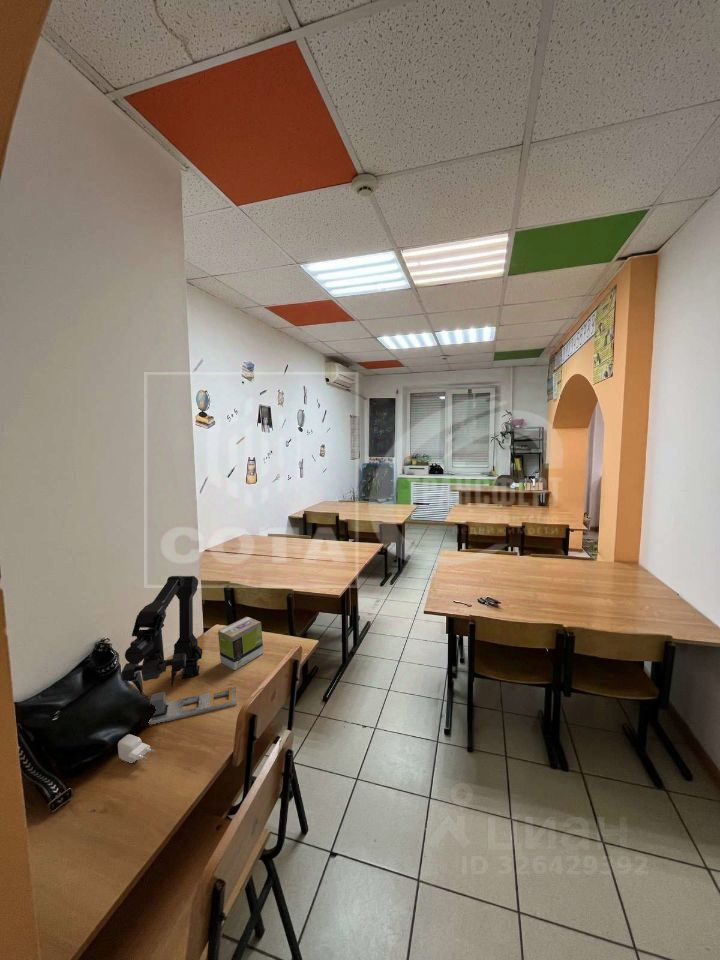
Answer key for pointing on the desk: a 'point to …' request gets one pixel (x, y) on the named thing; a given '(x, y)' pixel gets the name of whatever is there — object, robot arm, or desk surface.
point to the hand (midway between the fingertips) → (157, 689)
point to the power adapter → (132, 748)
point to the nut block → (159, 704)
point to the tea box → (240, 642)
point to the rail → (204, 706)
